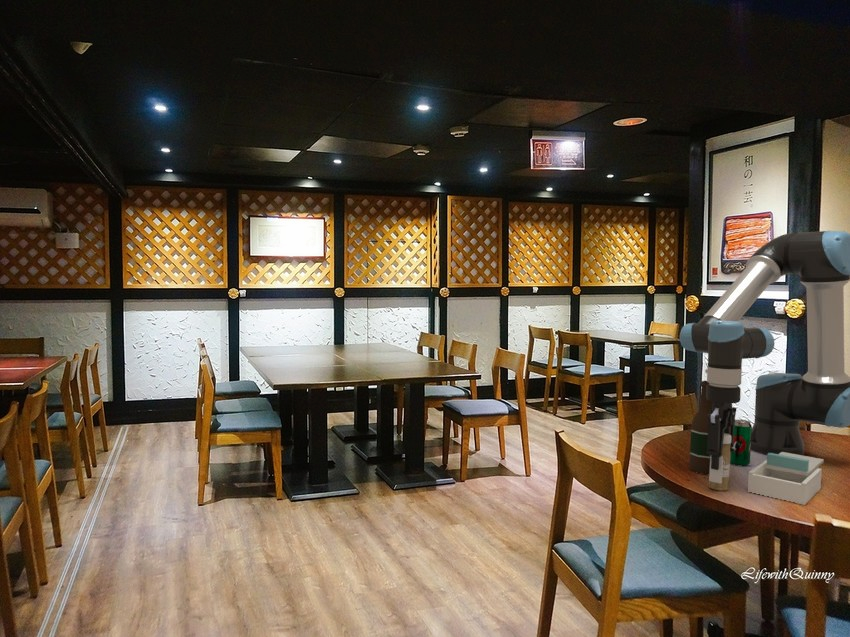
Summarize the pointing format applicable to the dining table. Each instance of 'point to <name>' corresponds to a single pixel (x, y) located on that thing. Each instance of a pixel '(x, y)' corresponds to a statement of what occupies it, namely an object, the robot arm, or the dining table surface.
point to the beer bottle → (700, 435)
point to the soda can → (741, 443)
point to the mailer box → (784, 484)
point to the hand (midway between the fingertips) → (719, 479)
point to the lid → (793, 463)
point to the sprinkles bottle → (724, 465)
